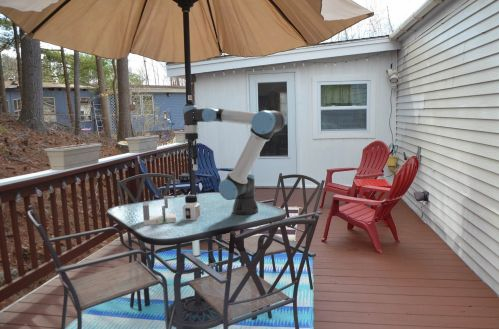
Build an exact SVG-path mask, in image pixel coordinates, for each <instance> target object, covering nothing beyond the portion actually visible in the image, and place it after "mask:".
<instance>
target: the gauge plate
mask: <svg viewBox="0 0 499 329" xmlns="http://www.w3.org/2000/svg"><path fill="white" fill-rule="evenodd" d="M163 200H164V202H163V203H164V204H163V205H162V206H161V212H162V214H161V215H163V217H164V222H165V217H166V216H165V214H166V209H169V201H168V196H167V195H164V196H163Z"/></svg>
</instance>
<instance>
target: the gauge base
mask: <svg viewBox="0 0 499 329" xmlns="http://www.w3.org/2000/svg"><path fill="white" fill-rule="evenodd" d="M142 215H143V225H144V226H146V225H147V226H149V225H157V224H158V225H159V224H169V223H177V216H176V213H167V214H166V213H165V216H166V217H165V222H164V217H163V215H162V214H155V215H150V203H149V201H145V202H142Z"/></svg>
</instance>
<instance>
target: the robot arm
mask: <svg viewBox="0 0 499 329" xmlns="http://www.w3.org/2000/svg"><path fill="white" fill-rule="evenodd" d="M193 112H194V113H193ZM193 117H194V118H193ZM183 121H184V127H183V129H184V140H186V141H187V140H188V141H189V140H190V143H188V142H187V147H188V146H190V150H191V152H192V158H191V159H192V164H193V168H192V171H198V170H199V168H198V158H199V157H198V149H197V141H196V140H199V133H198V132H199V128H198V127H199V125H198V123H211V122H220V123H229V124H237V125H246V126H251V127H250V130H249V131H250V136H249V138H248V140H247V141H246V144H245V146H244V148H243V150H242V152H241V154H240V156H239V158H238V159H237V162H236V164H235V166H234V168H233V169H232V170H231V171H229V172H228V174H227V176H226V178H225V179H223V180H222V181H220V182H219V184H218V192H219V194H220V196H221V197H222V198H223V199H225V200H226V201H233V200H234V203H233V206H232V213H233V214H236V215H242V216H243V215H244V216H245V215H253V214H257V213H258V212H259V207H258V206H259V205H258V203H257V201H256V194H255V192H256V191H255V188H256V187H255V186H256V185H255V175H254V174H253V173H251V171H252V168H253V167H254V164H255V163H256V162H257V159H258V158H259V155H260V154H261V152H262V150H263V148H264V145H265V144H266V142H269V141H270V140H271V138H272V136H274V134H275V133H278V132H280V131H281V130H282V129H283V128H284V126H285V122H286V121H285V117H284V115H283V113H281V112H280V111H278V110H269V109H266V110H265V109H263V110H261V111H257V112H256V111H246V110H235V109H226V108H219V107H218V108H213V107H207V108H206V107H205V108H204V107H203V108H197V105H185V106H184V107H183ZM186 124H187V125H186ZM188 125H189V126H188ZM187 156H188V157H189V155H188V154H187Z"/></svg>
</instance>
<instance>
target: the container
mask: <svg viewBox="0 0 499 329" xmlns="http://www.w3.org/2000/svg"><path fill="white" fill-rule="evenodd" d="M184 200H185V201H184V202H185V203H184V205H183V206H182V216H183V217H182V219H183V221H190V220H191V221H197V220H198V219H199V218H200V217H201V203H199V202H198V196H197V195H195V194H188V195H186V196H185V197H184Z"/></svg>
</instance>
